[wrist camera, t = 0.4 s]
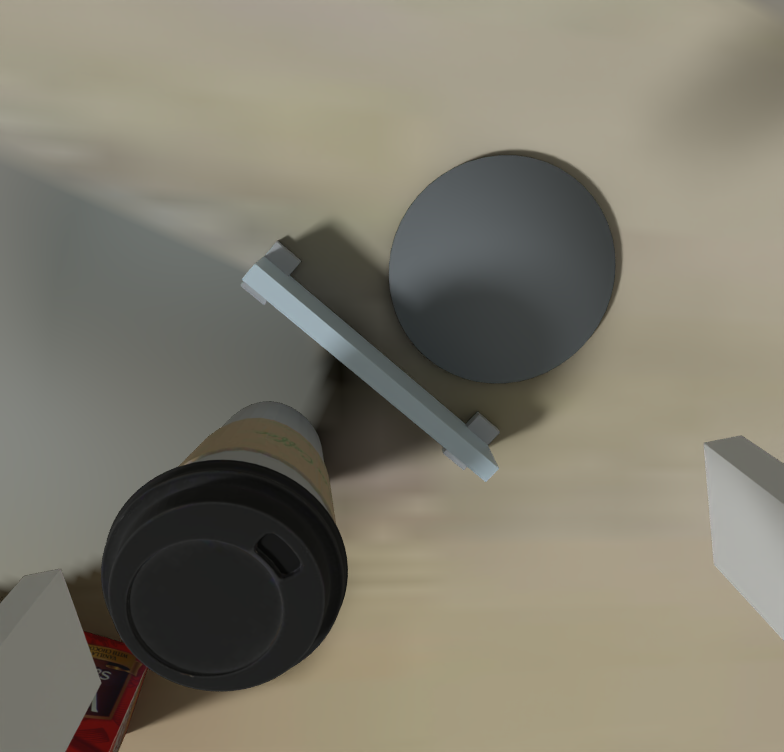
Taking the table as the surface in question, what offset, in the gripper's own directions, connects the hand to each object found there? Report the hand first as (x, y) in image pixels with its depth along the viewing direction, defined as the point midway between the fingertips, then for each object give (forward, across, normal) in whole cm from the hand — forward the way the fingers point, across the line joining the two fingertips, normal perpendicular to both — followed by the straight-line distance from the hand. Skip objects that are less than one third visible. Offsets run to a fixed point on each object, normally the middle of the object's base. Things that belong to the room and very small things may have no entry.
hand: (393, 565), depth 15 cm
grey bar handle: (+26, 0, -2) cm, 26 cm away
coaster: (+26, +7, +2) cm, 27 cm away
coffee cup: (+26, -7, -6) cm, 27 cm away
